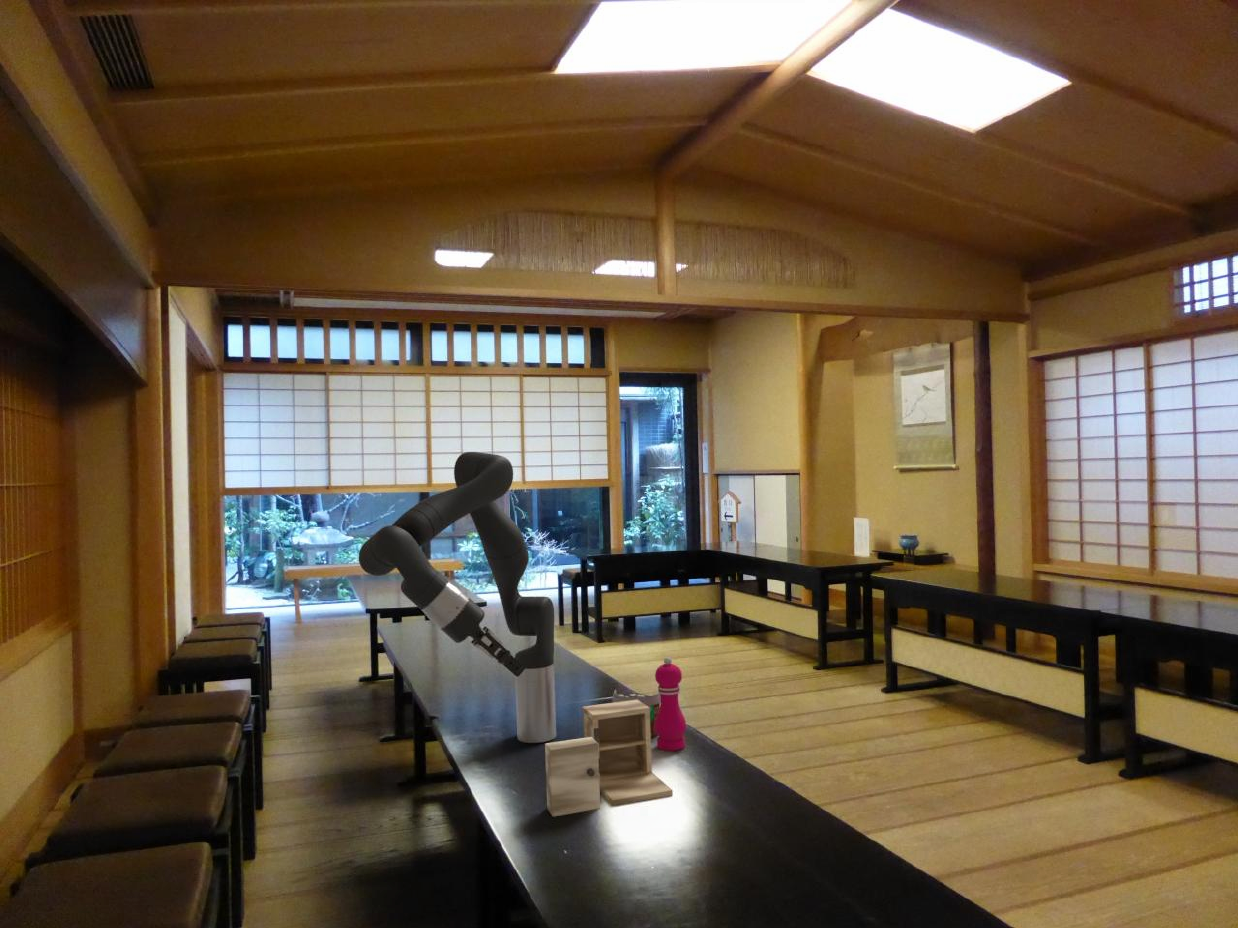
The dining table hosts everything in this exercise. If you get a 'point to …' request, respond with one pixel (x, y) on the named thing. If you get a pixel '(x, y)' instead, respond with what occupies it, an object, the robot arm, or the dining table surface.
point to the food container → (649, 701)
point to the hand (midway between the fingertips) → (516, 668)
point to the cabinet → (624, 751)
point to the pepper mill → (669, 708)
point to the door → (572, 776)
